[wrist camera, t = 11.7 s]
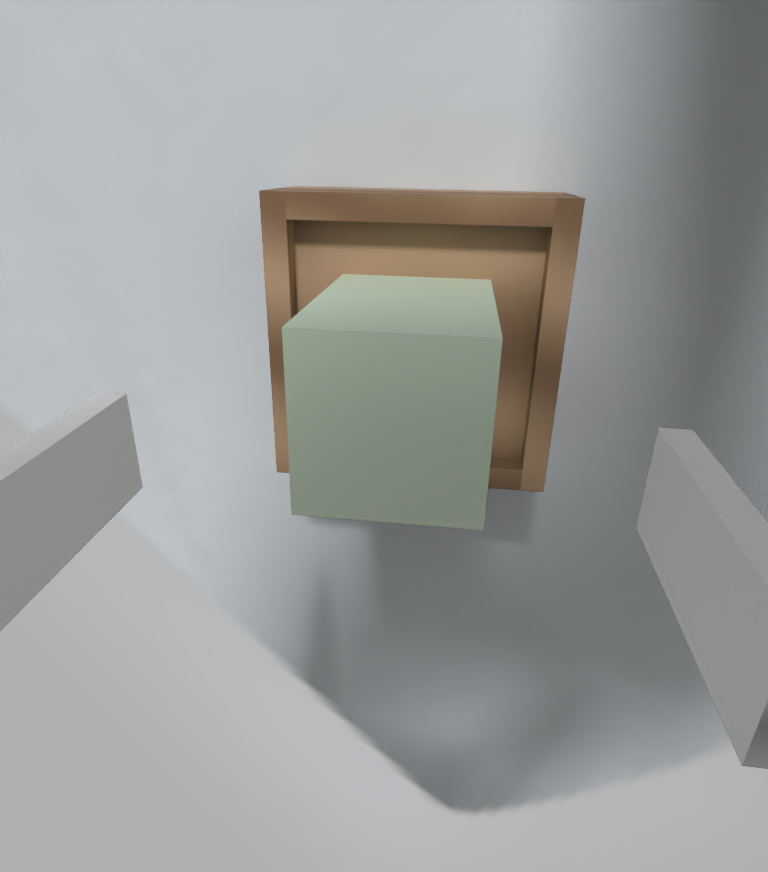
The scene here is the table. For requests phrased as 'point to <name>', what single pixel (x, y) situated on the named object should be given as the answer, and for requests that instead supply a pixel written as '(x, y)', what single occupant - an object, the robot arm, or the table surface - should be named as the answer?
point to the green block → (393, 400)
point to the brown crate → (441, 258)
